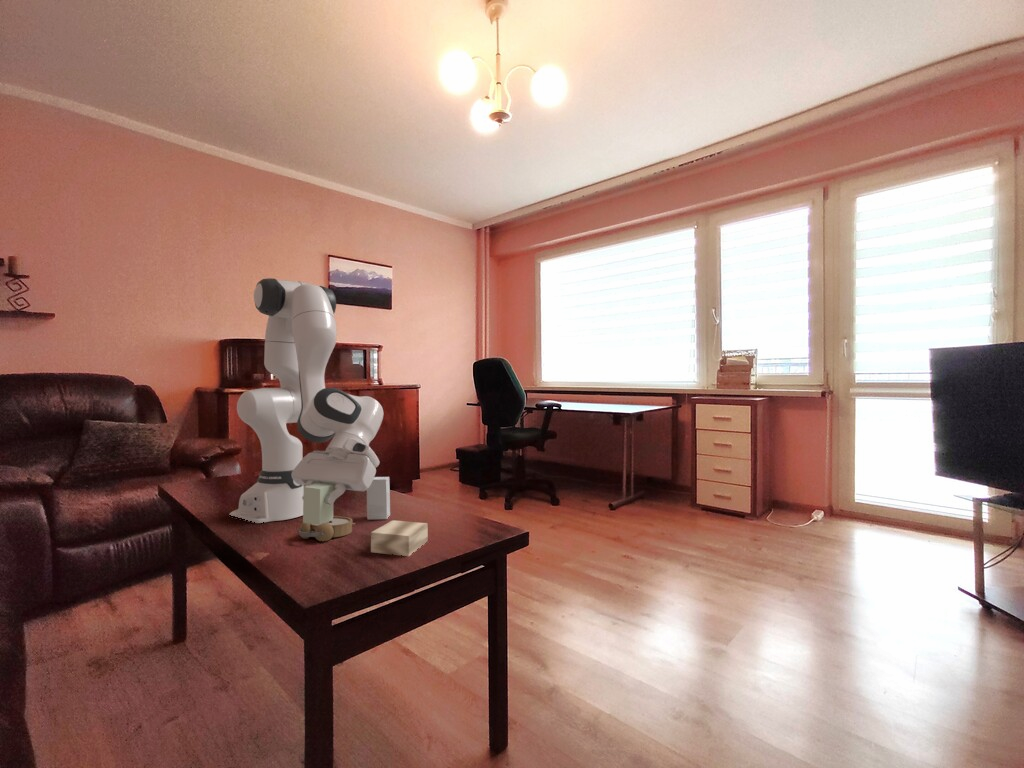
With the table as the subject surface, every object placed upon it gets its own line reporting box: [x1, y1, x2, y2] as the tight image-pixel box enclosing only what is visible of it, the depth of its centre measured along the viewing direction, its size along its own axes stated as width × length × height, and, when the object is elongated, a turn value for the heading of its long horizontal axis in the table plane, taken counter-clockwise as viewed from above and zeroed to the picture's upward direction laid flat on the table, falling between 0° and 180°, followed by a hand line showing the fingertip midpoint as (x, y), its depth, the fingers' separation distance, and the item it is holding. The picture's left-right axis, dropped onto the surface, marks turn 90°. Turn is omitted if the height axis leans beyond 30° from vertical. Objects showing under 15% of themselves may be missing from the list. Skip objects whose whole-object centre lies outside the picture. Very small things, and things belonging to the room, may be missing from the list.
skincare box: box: [366, 476, 391, 521], centre depth 134 cm, size 6×4×12 cm
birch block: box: [370, 519, 429, 557], centre depth 110 cm, size 10×10×5 cm
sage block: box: [302, 483, 335, 525], centre depth 102 cm, size 4×4×8 cm
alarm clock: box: [296, 515, 357, 543], centre depth 118 cm, size 11×5×15 cm
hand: (316, 502), depth 101 cm, fingers closed on sage block, 4 cm apart
